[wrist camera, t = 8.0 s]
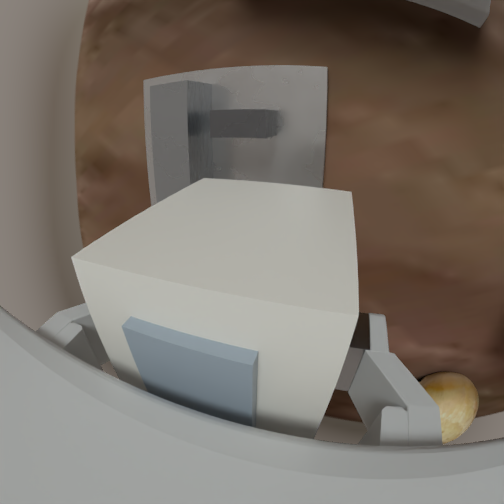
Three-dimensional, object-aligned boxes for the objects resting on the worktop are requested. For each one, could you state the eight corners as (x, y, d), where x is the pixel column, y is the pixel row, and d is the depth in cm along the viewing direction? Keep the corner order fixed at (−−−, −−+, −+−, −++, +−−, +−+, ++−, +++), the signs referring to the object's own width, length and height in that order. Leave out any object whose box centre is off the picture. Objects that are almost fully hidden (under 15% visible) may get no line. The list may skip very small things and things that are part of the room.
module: (351, 191, 8) (358, 331, 3) (322, 351, 12) (291, 486, 6) (203, 178, 10) (60, 264, 4) (214, 329, 13) (147, 440, 8)
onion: (389, 376, 22) (389, 443, 16) (469, 346, 18) (487, 411, 12) (406, 415, 24) (405, 471, 18) (473, 392, 20) (482, 448, 14)
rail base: (327, 69, 13) (323, 56, 10) (306, 324, 22) (297, 359, 19) (150, 80, 17) (114, 79, 13) (171, 295, 25) (148, 321, 22)
